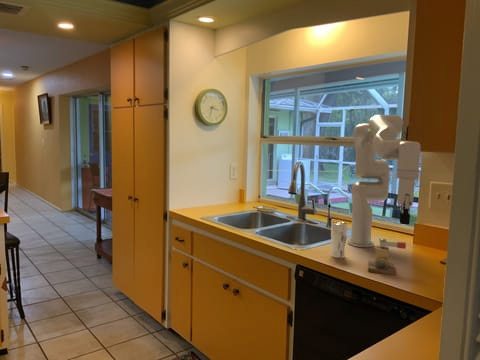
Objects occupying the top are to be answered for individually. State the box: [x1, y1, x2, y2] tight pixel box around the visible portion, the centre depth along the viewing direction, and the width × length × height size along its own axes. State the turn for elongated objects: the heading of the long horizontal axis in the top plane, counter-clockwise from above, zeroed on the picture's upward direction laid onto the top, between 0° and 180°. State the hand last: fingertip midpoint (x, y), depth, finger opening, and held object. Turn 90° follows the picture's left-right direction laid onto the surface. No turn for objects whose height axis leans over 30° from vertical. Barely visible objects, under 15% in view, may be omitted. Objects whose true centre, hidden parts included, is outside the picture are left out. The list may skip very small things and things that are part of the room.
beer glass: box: [330, 221, 348, 259], centre depth 174 cm, size 7×7×15 cm
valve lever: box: [379, 238, 407, 250], centre depth 155 cm, size 10×3×3 cm, turn 71°
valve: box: [367, 245, 396, 276], centre depth 157 cm, size 10×10×9 cm
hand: (404, 222), depth 147 cm, fingers open, 2 cm apart
